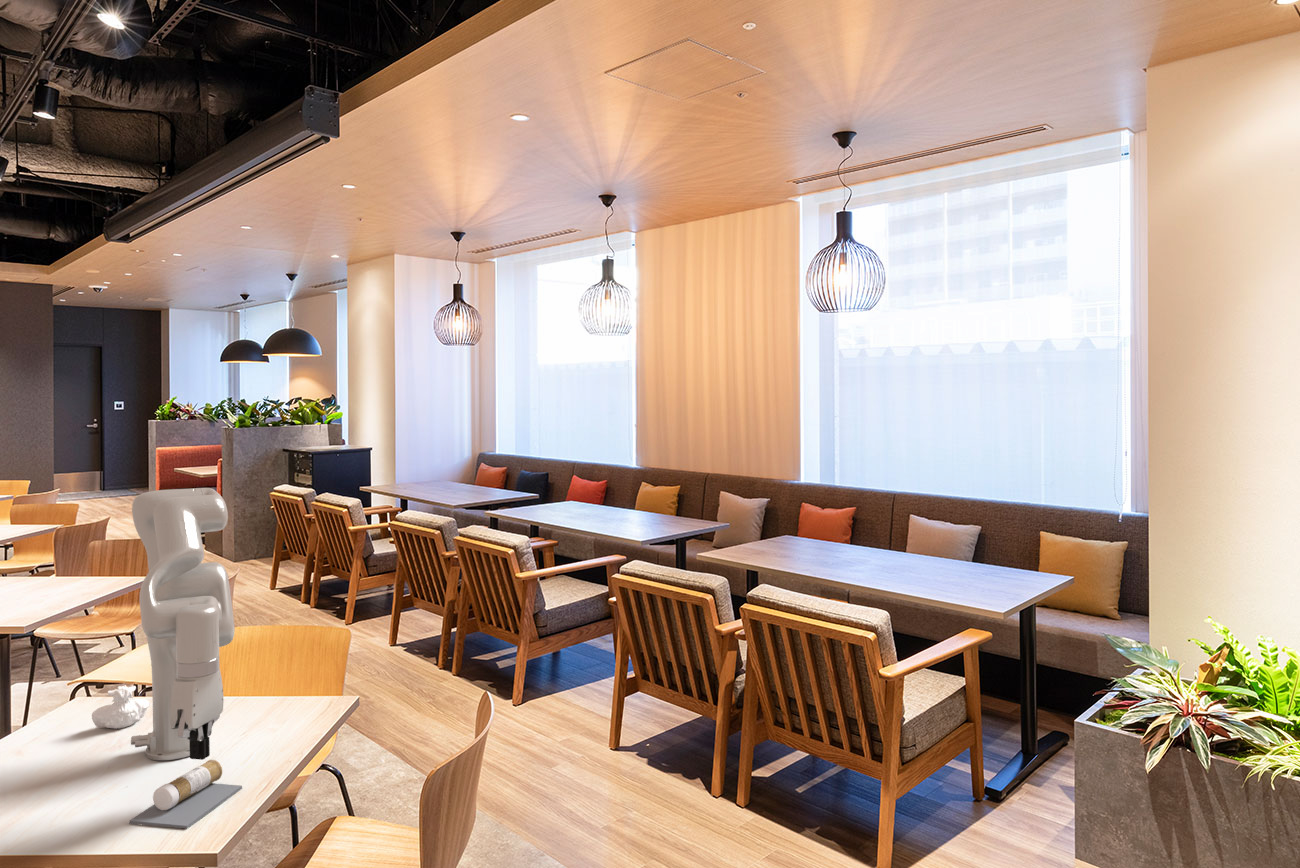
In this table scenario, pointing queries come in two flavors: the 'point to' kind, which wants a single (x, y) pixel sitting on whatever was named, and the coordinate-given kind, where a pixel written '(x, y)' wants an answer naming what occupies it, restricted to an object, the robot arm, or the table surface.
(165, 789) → the sprinkles bottle
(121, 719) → the white tied bag
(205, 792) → the mat
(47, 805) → the table surface
